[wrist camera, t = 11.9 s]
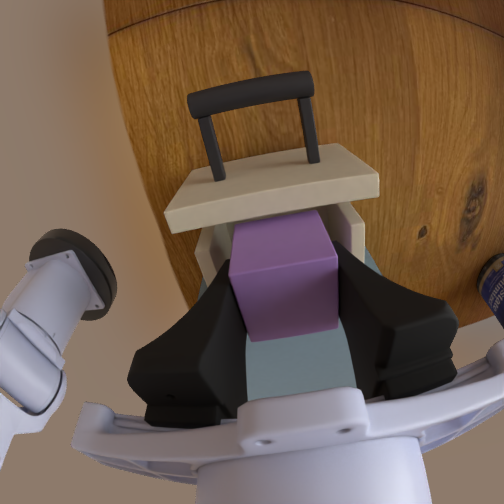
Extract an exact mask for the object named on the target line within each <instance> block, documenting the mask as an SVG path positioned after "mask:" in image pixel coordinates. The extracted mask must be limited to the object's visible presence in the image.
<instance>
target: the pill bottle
mask: <svg viewBox="0 0 504 504" xmlns="http://www.w3.org/2000/svg"><path fill="white" fill-rule="evenodd" d="M477 290H478V292H479V293H480V295H481V296H482V297H483V299H484V300H485V302H486V303H487V304H488V306H489V307H490V309H491V310H492V312H493V313H494V315H495V316H496V318H497V319H498V321H499V322H500V324H501V325H502V327H503V329H504V253H501V254H498V255H495V256H494V257H493V258H491V259H490V260H489V261H488V262H487V264H486V265H485V266H484V268H483V270H482V271H481V273H480V275H479V277H478V281H477Z"/></svg>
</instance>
